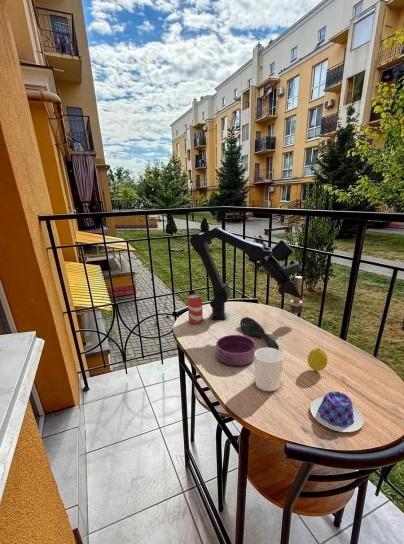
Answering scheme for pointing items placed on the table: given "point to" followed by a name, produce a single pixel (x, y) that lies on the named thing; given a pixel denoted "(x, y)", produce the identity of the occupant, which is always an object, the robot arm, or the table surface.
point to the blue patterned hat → (337, 412)
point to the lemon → (317, 359)
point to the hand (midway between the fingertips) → (300, 296)
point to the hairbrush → (256, 331)
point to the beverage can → (195, 309)
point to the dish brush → (296, 302)
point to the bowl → (235, 350)
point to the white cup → (268, 368)
